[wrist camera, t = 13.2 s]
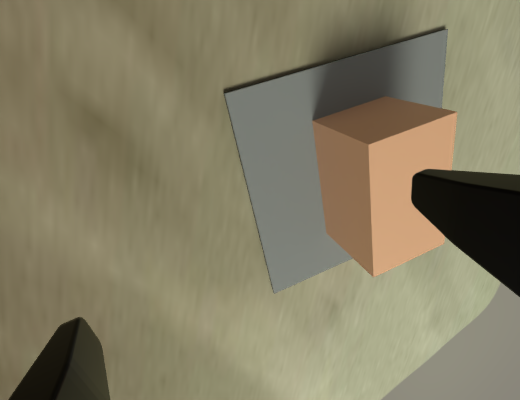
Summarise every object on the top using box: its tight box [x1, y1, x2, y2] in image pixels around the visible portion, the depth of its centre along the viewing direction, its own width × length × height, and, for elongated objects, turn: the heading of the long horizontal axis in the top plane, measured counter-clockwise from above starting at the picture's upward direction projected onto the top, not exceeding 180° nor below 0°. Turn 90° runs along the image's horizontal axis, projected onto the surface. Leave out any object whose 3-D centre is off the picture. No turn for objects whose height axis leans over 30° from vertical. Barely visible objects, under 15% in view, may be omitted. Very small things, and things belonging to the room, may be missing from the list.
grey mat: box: [224, 29, 448, 294], centre depth 21 cm, size 14×14×1 cm
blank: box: [312, 96, 457, 277], centre depth 19 cm, size 5×8×5 cm, turn 12°
